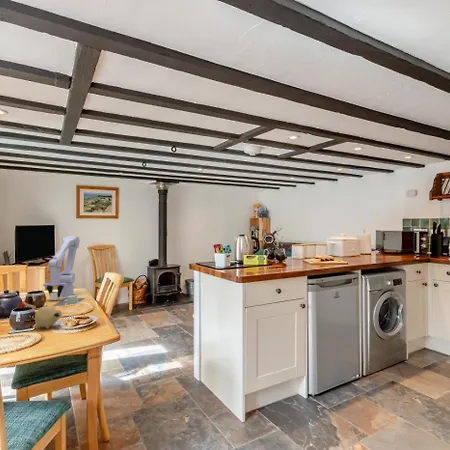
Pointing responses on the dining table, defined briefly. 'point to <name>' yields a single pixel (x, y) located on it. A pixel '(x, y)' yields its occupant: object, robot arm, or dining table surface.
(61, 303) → the mat
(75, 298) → the base block
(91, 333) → the dining table surface
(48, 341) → the dining table surface
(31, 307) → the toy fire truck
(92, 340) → the dining table surface
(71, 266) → the robot arm
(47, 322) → the toy pig
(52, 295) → the top block
